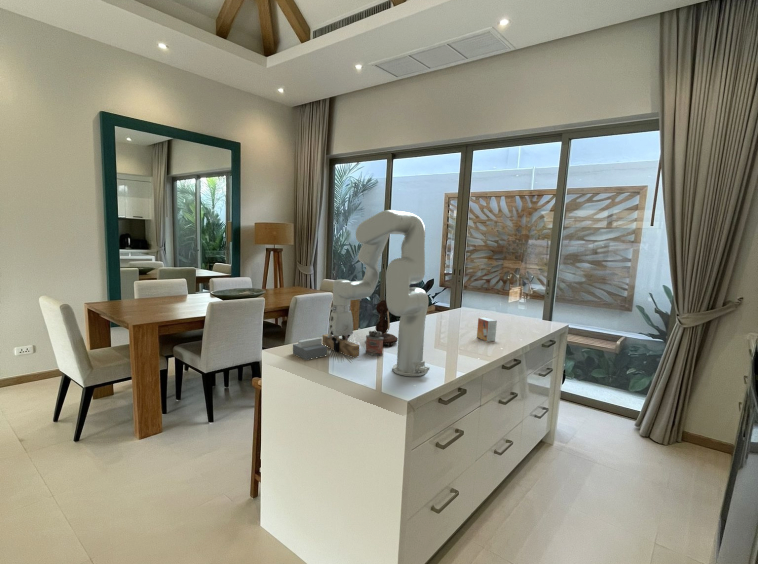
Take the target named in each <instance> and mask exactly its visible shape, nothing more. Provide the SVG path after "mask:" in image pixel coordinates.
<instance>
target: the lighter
mask: <svg viewBox="0 0 758 564" xmlns="http://www.w3.org/2000/svg"><path fill="white" fill-rule="evenodd" d="M379 335H382V332H378V331H376V329H374V330H369V331H368V334H367V335H365V338H366V341H365V345H366V346H365V352H364V353H365V354H368V355H370V354H372V355H371V356H375V357H376V356H378V357H382V356H383V355H384V353H383V348H384V347H383V346H384V344H383V339H384V338H383V337H379Z"/></svg>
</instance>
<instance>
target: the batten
mask: <svg viewBox="0 0 758 564" xmlns="http://www.w3.org/2000/svg"><path fill="white" fill-rule="evenodd" d="M327 336H328V333H325V334H322V344H323V345H326V346H328V347H330V348H332V349H331V350H333V349H334V342H333V340H332V339H330V338H328V337H327ZM328 347H327V348H328ZM330 348H329V349H330ZM340 352H342V353H341V354H343V353H344V354H343V355H345V354H346V356H348V355H349V356H348V357H350V356H352V357H351V358H353V357H354V358H357V356H359V357H360V344H358V343H355V342H352V341H349V340H348V341H346V340H344V339H342V337H341V338H340V337H339V352H338V353H340Z"/></svg>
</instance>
